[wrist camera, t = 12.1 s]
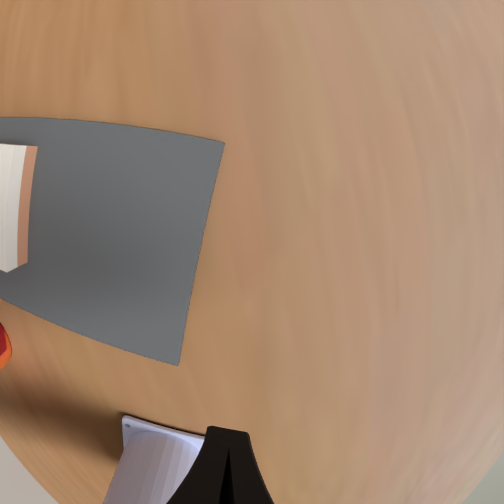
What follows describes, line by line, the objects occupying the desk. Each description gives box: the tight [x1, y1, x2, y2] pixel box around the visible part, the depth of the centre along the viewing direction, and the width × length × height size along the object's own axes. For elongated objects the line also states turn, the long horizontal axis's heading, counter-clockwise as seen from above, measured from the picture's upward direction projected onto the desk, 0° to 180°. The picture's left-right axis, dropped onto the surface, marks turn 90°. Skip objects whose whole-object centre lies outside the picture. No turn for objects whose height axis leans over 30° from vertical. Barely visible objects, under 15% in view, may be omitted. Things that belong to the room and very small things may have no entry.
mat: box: [0, 117, 225, 366], centre depth 16 cm, size 14×20×1 cm
